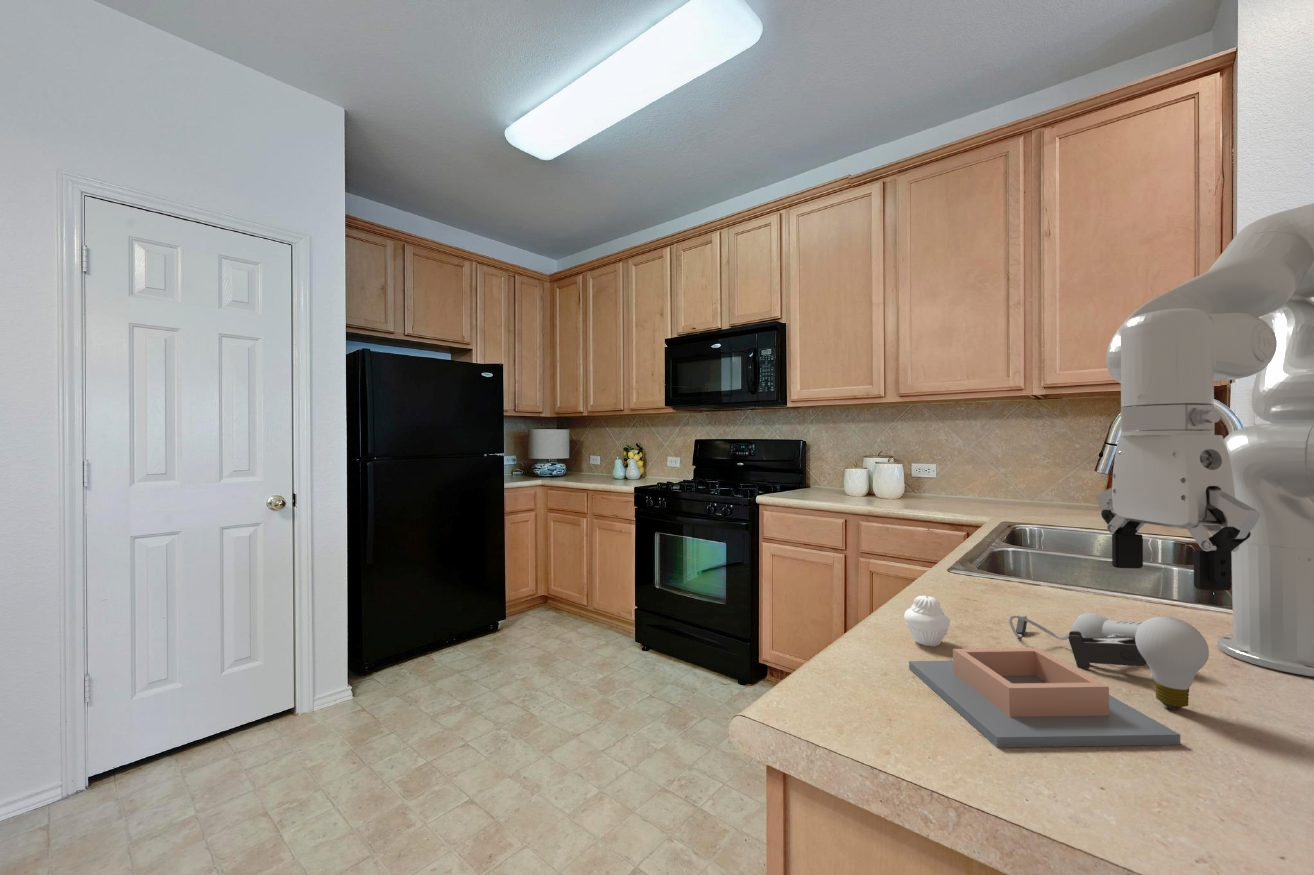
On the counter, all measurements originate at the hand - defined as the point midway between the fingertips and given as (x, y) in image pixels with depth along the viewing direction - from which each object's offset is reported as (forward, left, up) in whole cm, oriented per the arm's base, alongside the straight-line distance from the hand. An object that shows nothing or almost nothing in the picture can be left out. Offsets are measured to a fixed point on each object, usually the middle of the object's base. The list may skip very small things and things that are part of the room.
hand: (1166, 577), depth 59 cm
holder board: (+14, -2, -15) cm, 21 cm away
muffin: (+16, -20, -15) cm, 30 cm away
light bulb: (-1, 0, -15) cm, 15 cm away
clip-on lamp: (-2, -16, -15) cm, 22 cm away
